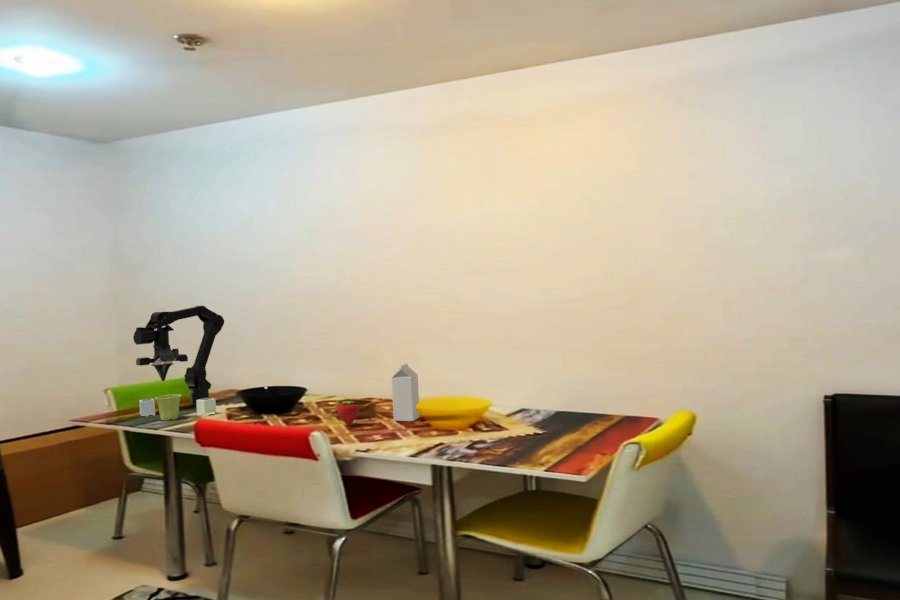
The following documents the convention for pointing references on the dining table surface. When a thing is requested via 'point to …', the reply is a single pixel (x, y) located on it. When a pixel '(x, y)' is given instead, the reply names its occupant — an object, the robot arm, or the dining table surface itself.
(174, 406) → the plant pot
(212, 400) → the sage block
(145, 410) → the slate block
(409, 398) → the milk carton
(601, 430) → the dining table surface
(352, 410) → the strawberry
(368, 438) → the dining table surface
